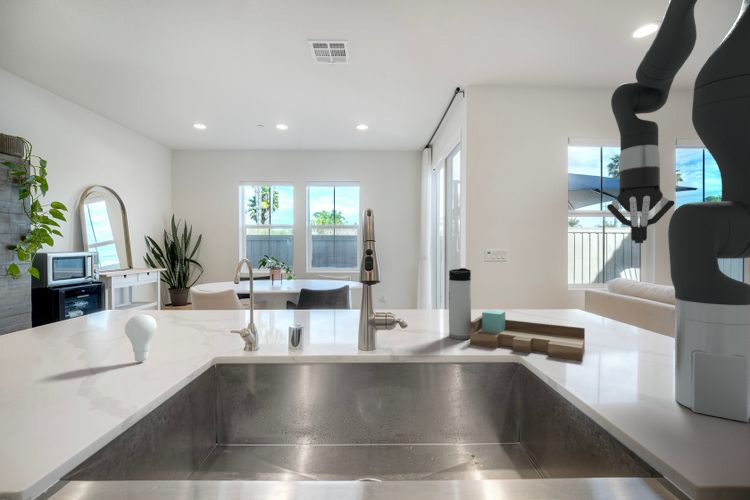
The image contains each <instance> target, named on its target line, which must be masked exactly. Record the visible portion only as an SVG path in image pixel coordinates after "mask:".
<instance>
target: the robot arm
mask: <svg viewBox="0 0 750 500" xmlns="http://www.w3.org/2000/svg"><path fill="white" fill-rule="evenodd" d="M697 2H698V0H669V2H668V5H667V8H666V10H665V13H664V15H663V17H662V22H661V23H660V26H659V29H658V30H657V33H656V35H655V37H654V39H653V41H652V43H651V44H650V46H649V48H648V49H647V51H646V53H645V55H644V57H642V59H641V62H640V63H639V65H638V67H637V69H636V71H635V80H636V81H634V82H626V83H621V84H620V85H619V86H617V87H616V88H615V89H614V91H613V93H612V96H611V99H610V100H611V101H610V105H611V110H612V113H613V116H614V119H615V121H616V124H617V128H618V130H619V136H620V138H619V139H620V155H619V161H618V171H619V172H618V174H619V175H618V176H619V178H618V181H619V182H618V187H619V189H618V195H617V196H616V200H615V201H613V202H611V203H610V204H609V203H608V204H607V205H606V206H607V207H606V209H607V210H608V211H609V212H610V213H611V214H612V216H614V217H615V219H617V220H618V221H619V223H621V224H622V225H623V226H626V227H627V226H628V227H630V231H631V232H630V239H631V241H632V242H634V244H644V242H646V241H647V239H648V226H651V225H655V224H656V223H658V222H659V220H661V219H662V217H663V216H664V215H665V214H667V212H668V211H669V210H670V209H671V208H672V207H673V206H674V205H675V201H674V200H670V199H668V198H666V197H664V194H663V191H662V190H661V184H660V183H661V177H660V176H661V169H660V167H661V166H660V165H661V155H660V151H659V149H660V148H659V125H658V123H657V122H655V121H652V120H648V119H642V118H639V117H638V116H637V115H639V114H641V115H642V114H652V113H655V112H658V111H659V110H660V109H661V108H663V107H664V106H665V104H666V103H667V100H668V99H669V94H670V91H671V88H672V86H673V85H672V84H673V82H674V80H675V77H676V75H677V74H678V73H679V71H680V69H682V67H683V66H684V64H685V63H686V61H688V59H689V57H690V56H691V54H692V52H693V51H694V48H695V45H696V41H697V35H698V34H697V33H698V32H697V26H696V25H697V24H696V22H695V21H696V20H695V7H696V4H697ZM740 7H741V8H740V11H739V14H738V16H737V19H736V20H735V22H734V24H733V25H732V27H731V29H730V30H729V31H728V33H727V34H726V35H725V37H724V38H723V40H722V41H721V42H720V43H719V44H718V46H717V47H716V48H715V49H714V51H713V52H712V53H711V54H710V56H709V57H708V59H707V60H706V61H705V63H704V64H703V65H702V67H701V69H700V70H699V72H698V73H697V75H696V78H695V81H694V87H693V96H692V97H693V98H692V109H691V120H692V121H691V122H692V125H693V128H694V130H695V133H696V134H697V136H698V137H699V139H700V141H701V142H702V144H703V145H704V146H705V148H706V149H707V151H708V152H709V154H710V155H711V157H712V158H713V160H714V161H715V163H716V165H717V168H718V170H719V173H720V178H721V179H720V180H721V182H720V183H721V196H720V197H721V198H720V201H695V202H693V201H692V202H686V203H683V204H681V205H679V206H678V207H677V208H676V209H675V210H674V211H673V213H672V214H671V217H670V219H669V223H668V229H667V235H668V251H669V252H668V253H669V265H670V266H669V267H670V268H669V269H670V278H671V282H672V285H673V288H674V311H675V312H674V398H675V400H676V402H678V403H679V404H681V406H685V407H687V408H688V409H690V410H691V411H692V412H693V413H699V414H703V415H707V416H714V417H718V418H723V419H729V420H735V421H738V422H745V423H749V422H750V420H749V419H750V284H749V283H746V282H744V281H740V280H737V279H735V278H732V277H730V276H728V275H726V274H725V273H724V272H723V271H722V270H721V269H720V266H719V262H718V261H719V260H718V259H720V260H721V259H724V260H727V259H748V258H749V259H750V0H742V3H741V6H740ZM659 202H660V203H659ZM658 203H659V204H658ZM619 205H620V206H621V207H622V208H623V209H624V210H625V211H626V212H628V213H629V217H630V219H627V218H626V217H625V215H624V214H622V213H621V211H619V210H620V206H619ZM657 205H659V208H660V209H659V210H658V211H657V212H656V213H655V214H654V215H653V216H652V217H651V218H649V213H650V212H651V211H652V210H653V209H654V208H655V206H657ZM639 212H640V221H639V219H638V213H639Z"/></svg>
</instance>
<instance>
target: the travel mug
mask: <svg viewBox="0 0 750 500" xmlns="http://www.w3.org/2000/svg"><path fill="white" fill-rule="evenodd" d="M471 271H472V270H471V269H468V268H466V267H460V268H455V269H450V270H448V276H449V278H448V336H449V337H450V338H451V339H452V340H453V339H454V340H462V341H463V340H464V341H465V340H470V322H471V321H472V279H471V277H472V275H471V274H472V272H471Z"/></svg>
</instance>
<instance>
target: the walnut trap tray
mask: <svg viewBox="0 0 750 500" xmlns="http://www.w3.org/2000/svg"><path fill="white" fill-rule="evenodd" d="M585 333H586V331H585V327H579V326H569V325H561V324H560V325H559V324H551V323H541V322H532V321H524V320H523V321H522V320H513V319H505V330H504V331H502V332H501V333H498V332H490V331H483V330H482V315H481V316H478V317H477V318H475V319H473V320H471V322H470V339H469V343H470V344H469V345H473V346H479V347H480V346H481V347H486V348H487V347H488V348H493V349H498V348H499V347H500V346H505V347H511V348H512V350H513V352H521V353H525V354H531V353H532V352H533V351H537V352H545V353H547V356H548V357H552V358H553V357H554V358H561V359H566V360H570V361H571V360H572V361H577V362H579V361H580V362H583V358H584V353H585V351H586V350H585V349H586V348H585V347H586V346H585V343H586V342H585V341H586V338H585V335H586V334H585Z"/></svg>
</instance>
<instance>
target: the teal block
mask: <svg viewBox="0 0 750 500" xmlns="http://www.w3.org/2000/svg"><path fill="white" fill-rule="evenodd" d="M481 314H482V315H481V316H482V330H483V331H490V332H498V333H501V332H502V331H504V330H505V320H506V311H503V310H492V309H491V310H490V309H486V310H484V311H483V312H481Z"/></svg>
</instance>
